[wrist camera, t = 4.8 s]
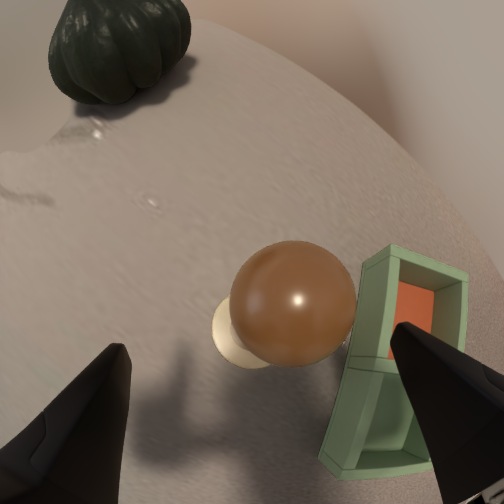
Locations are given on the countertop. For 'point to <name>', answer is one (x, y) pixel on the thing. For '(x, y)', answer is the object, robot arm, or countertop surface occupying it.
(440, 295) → the green divided tray
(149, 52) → the squash
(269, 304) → the dish brush
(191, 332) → the countertop surface
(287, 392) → the countertop surface
